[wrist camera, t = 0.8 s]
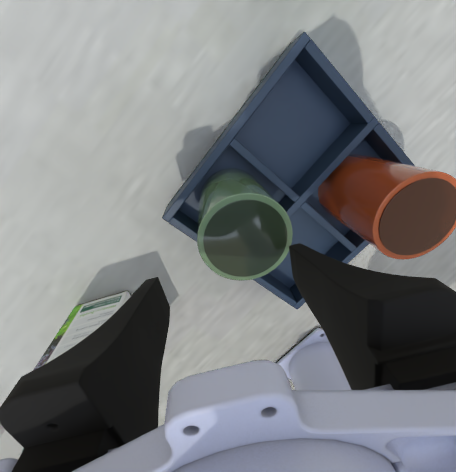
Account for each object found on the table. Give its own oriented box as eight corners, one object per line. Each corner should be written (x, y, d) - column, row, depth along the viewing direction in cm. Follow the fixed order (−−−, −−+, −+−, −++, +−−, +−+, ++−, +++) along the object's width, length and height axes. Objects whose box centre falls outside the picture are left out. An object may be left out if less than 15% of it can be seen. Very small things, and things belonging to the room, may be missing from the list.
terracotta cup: (391, 182, 23) (482, 211, 15) (344, 228, 24) (406, 275, 17) (353, 139, 21) (435, 149, 14) (304, 192, 22) (355, 227, 15)
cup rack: (405, 178, 23) (432, 186, 21) (288, 291, 27) (297, 310, 25) (290, 43, 18) (305, 30, 16) (166, 206, 22) (161, 218, 20)
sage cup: (276, 195, 22) (312, 232, 15) (235, 241, 24) (249, 296, 16) (227, 153, 20) (241, 171, 13) (185, 206, 22) (177, 249, 15)
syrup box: (128, 288, 25) (48, 470, 12) (152, 330, 28) (108, 519, 15) (74, 304, 26) (-61, 501, 12) (103, 345, 28) (16, 544, 15)
